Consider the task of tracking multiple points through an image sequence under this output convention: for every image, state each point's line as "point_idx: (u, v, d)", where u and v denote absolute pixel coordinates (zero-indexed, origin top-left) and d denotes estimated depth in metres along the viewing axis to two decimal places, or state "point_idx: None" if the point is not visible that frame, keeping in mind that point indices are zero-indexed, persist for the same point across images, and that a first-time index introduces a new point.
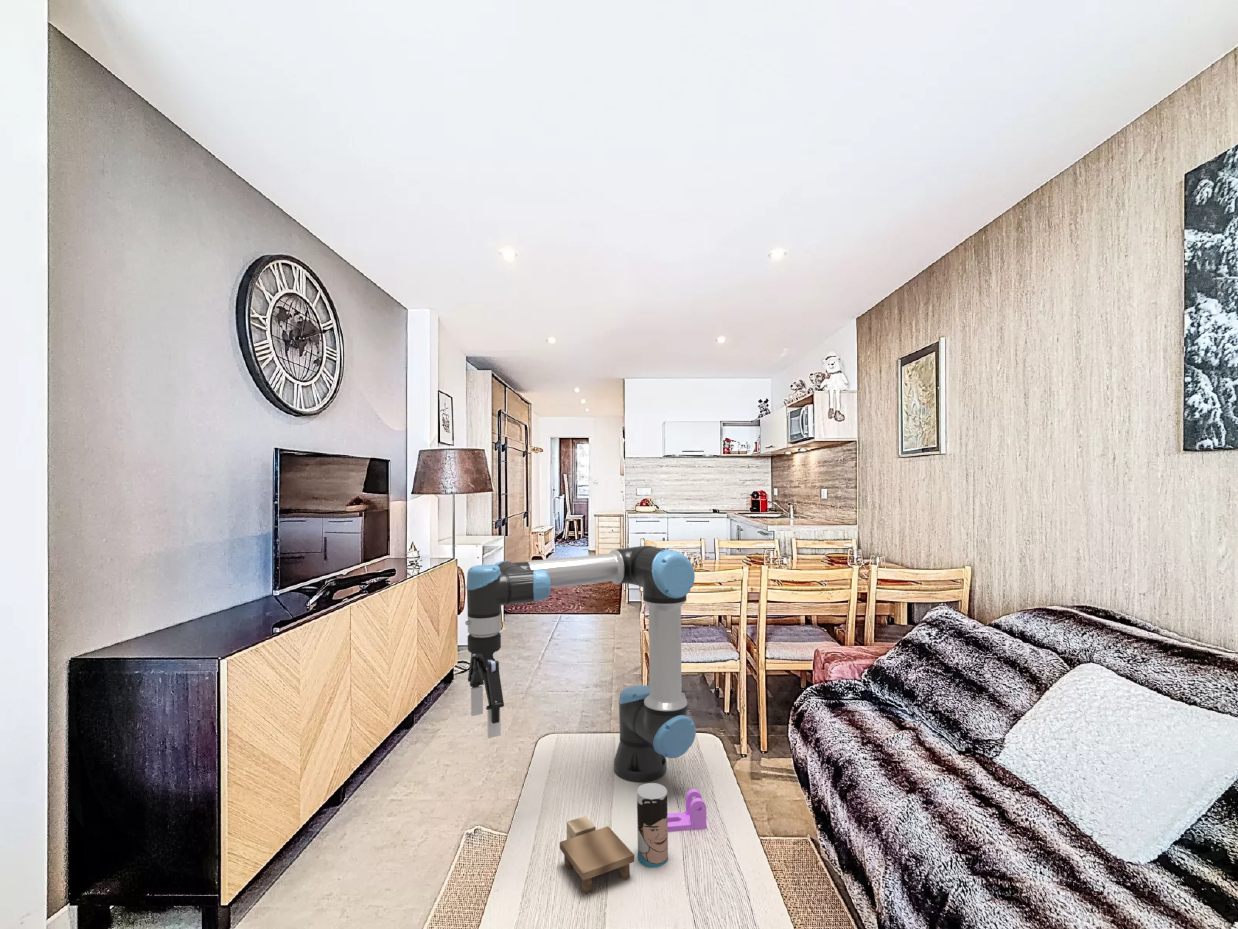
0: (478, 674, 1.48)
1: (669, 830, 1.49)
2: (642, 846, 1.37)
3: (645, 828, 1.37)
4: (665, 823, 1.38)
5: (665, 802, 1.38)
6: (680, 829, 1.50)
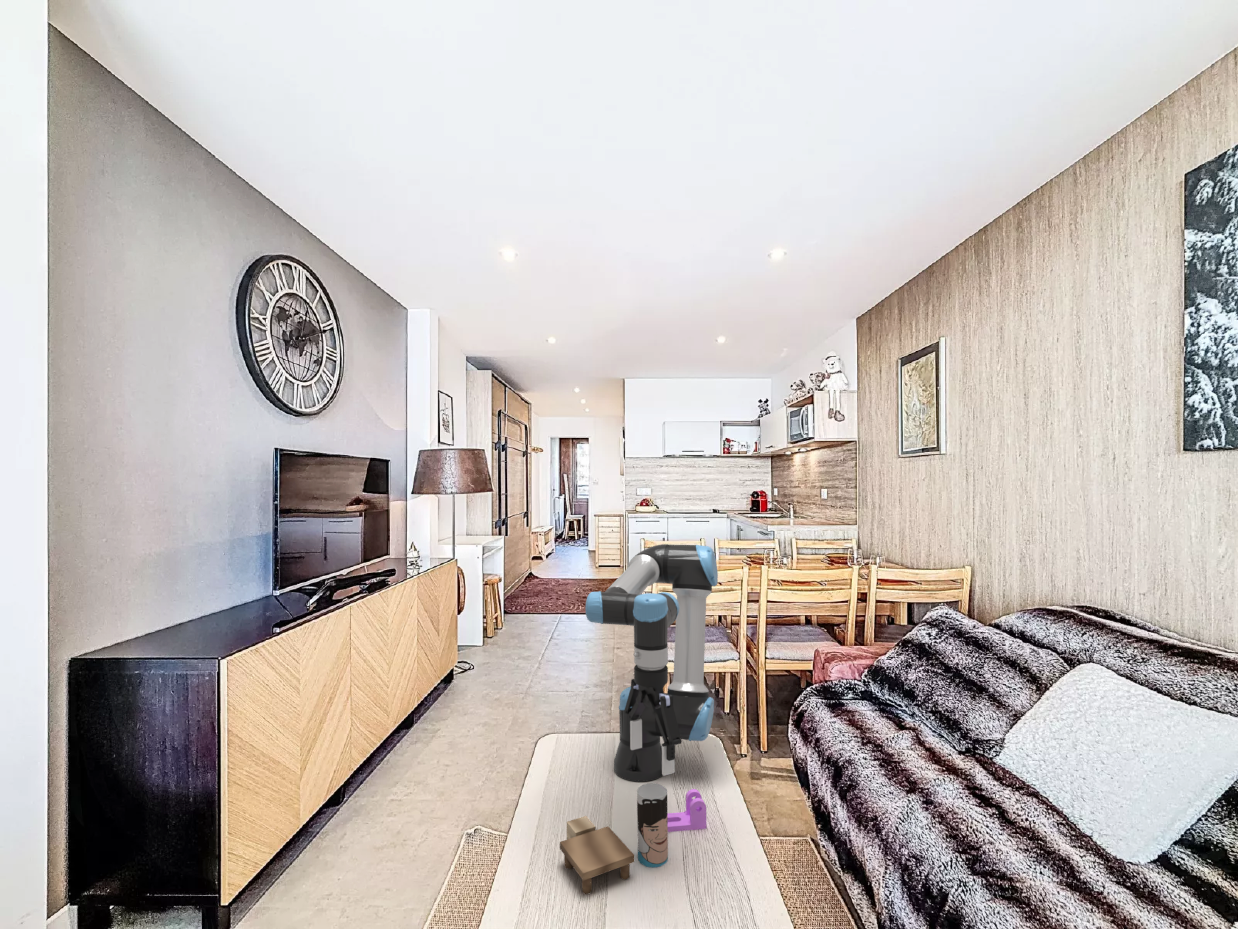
0: (640, 707, 1.43)
1: (669, 830, 1.49)
2: (642, 846, 1.37)
3: (645, 828, 1.37)
4: (665, 823, 1.38)
5: (665, 802, 1.38)
6: (680, 829, 1.50)
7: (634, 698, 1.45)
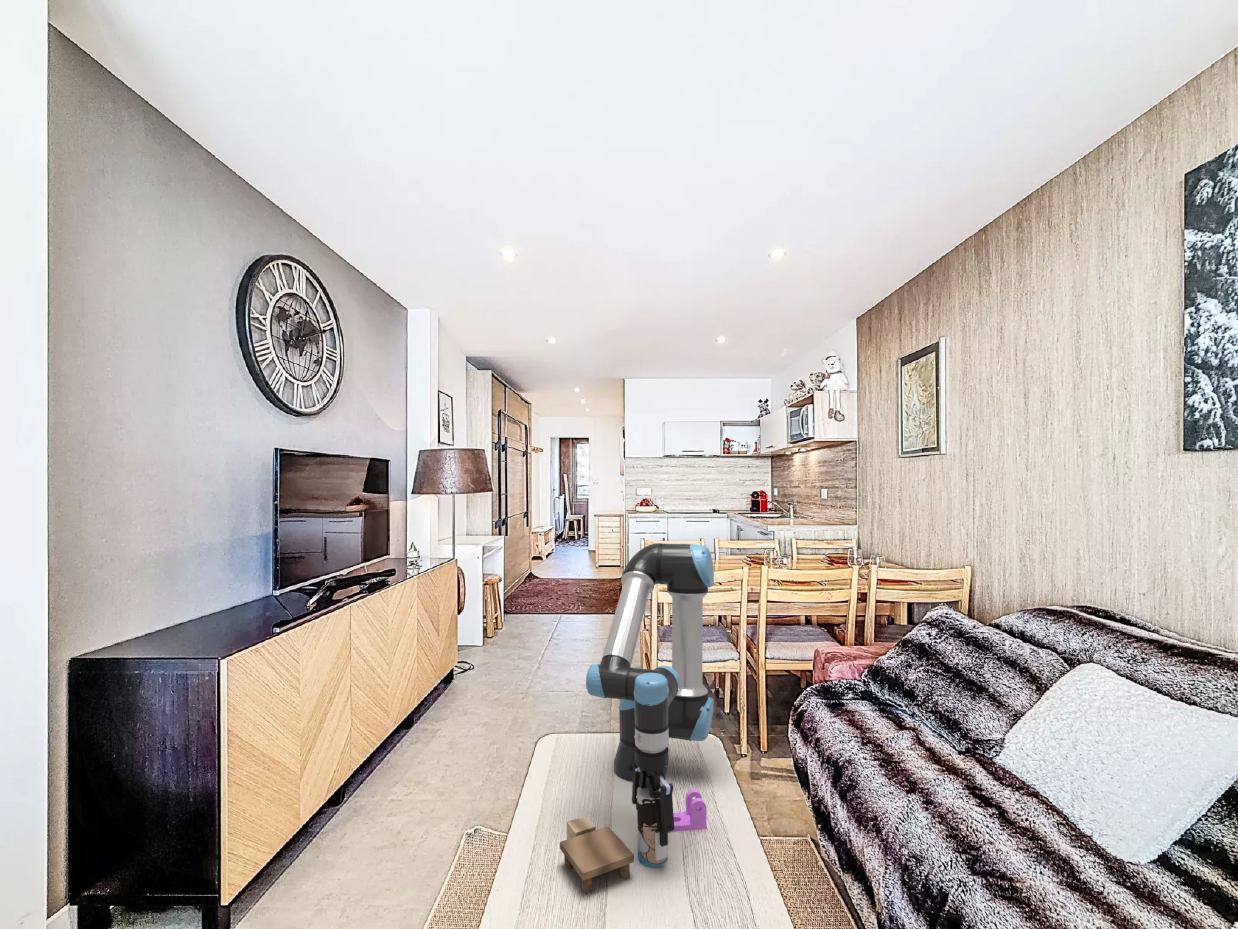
0: None
1: None
2: (642, 846, 1.37)
3: (645, 828, 1.37)
4: None
5: None
6: (680, 829, 1.50)
7: (638, 783, 1.44)
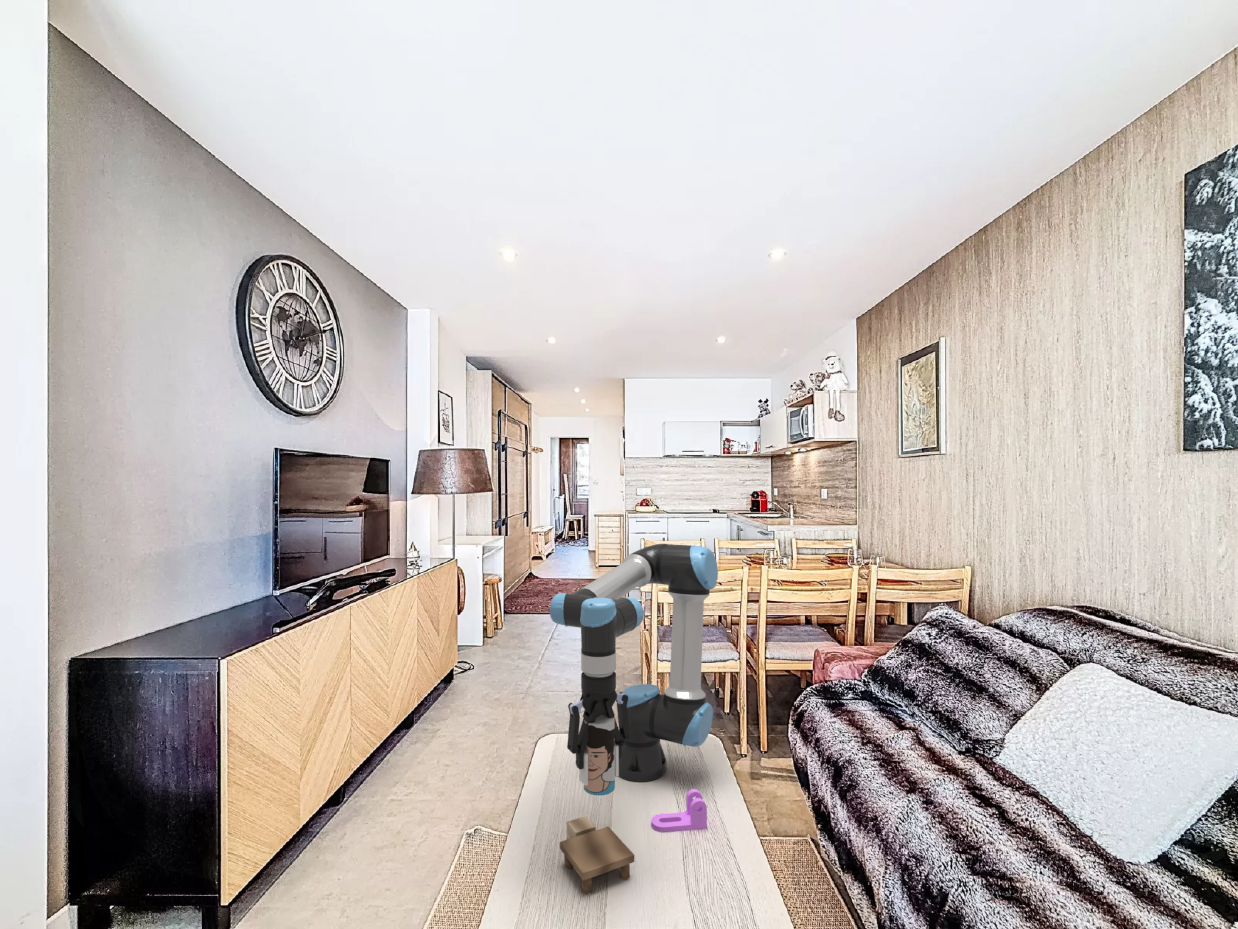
0: None
1: (669, 830, 1.49)
2: None
3: None
4: (590, 753, 1.32)
5: (590, 731, 1.32)
6: (680, 829, 1.50)
7: (619, 715, 1.38)
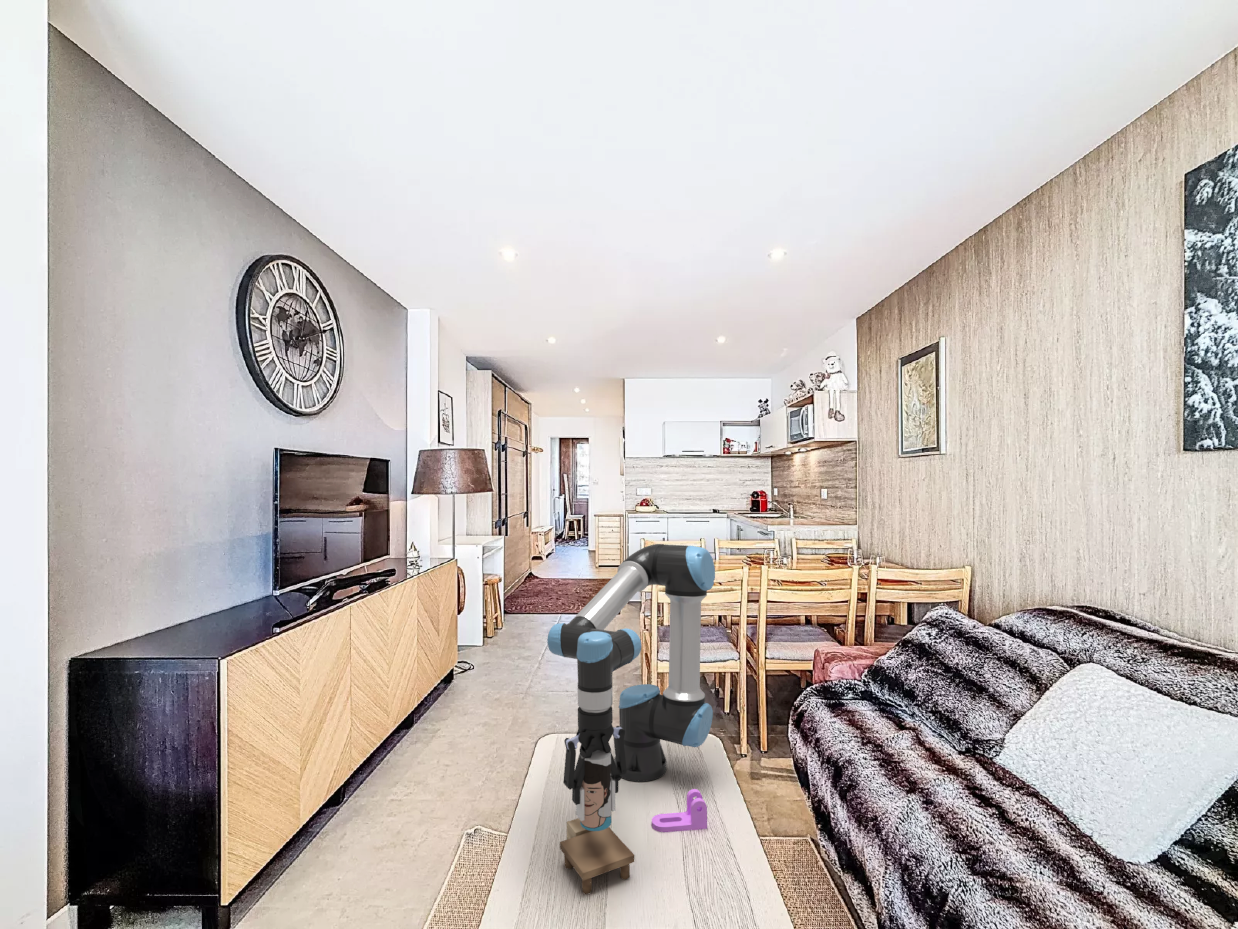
0: None
1: (670, 830, 1.49)
2: None
3: None
4: (586, 788, 1.32)
5: (586, 766, 1.32)
6: (681, 829, 1.50)
7: (616, 750, 1.38)
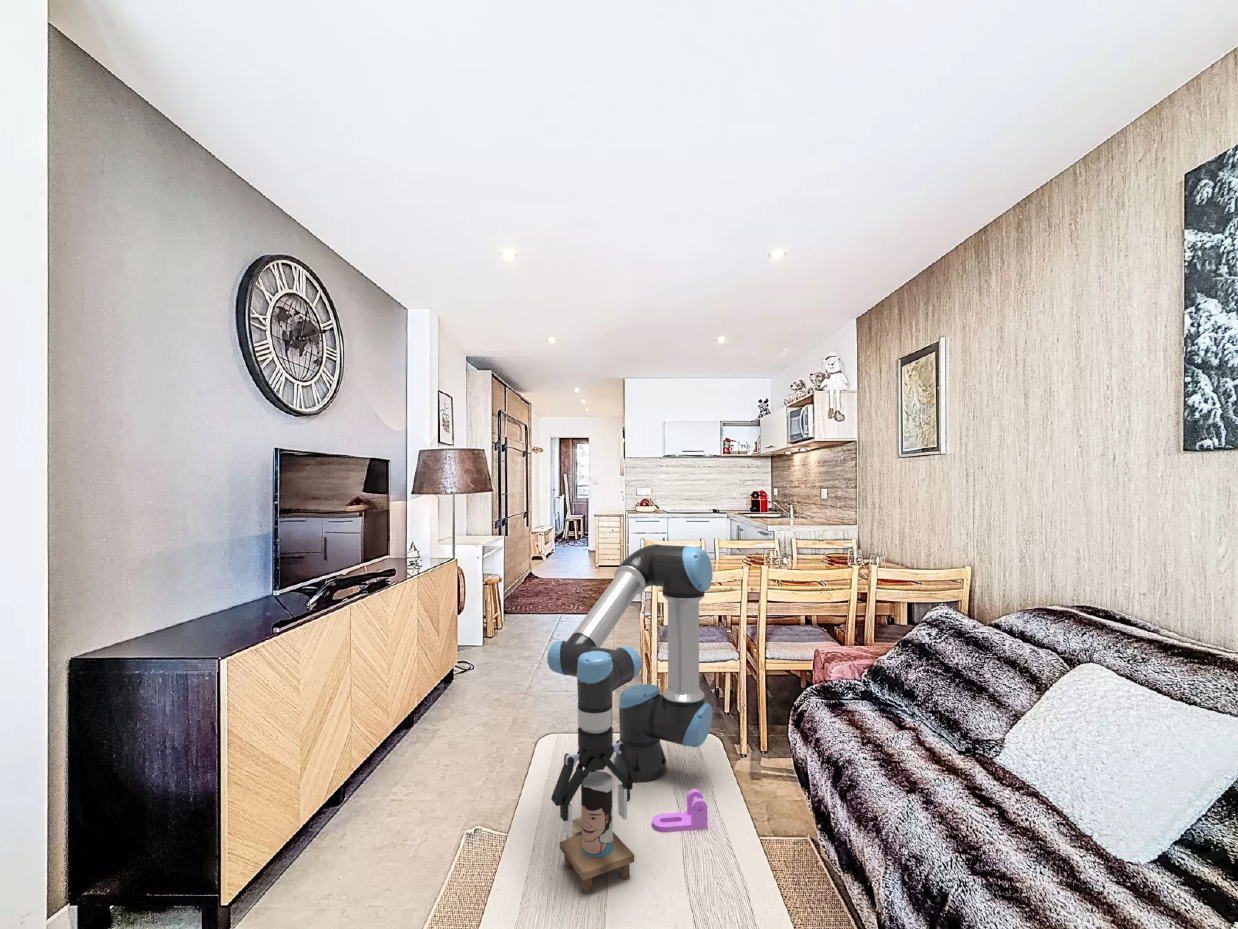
0: None
1: (670, 830, 1.49)
2: None
3: None
4: (587, 814, 1.33)
5: (587, 793, 1.32)
6: (681, 829, 1.50)
7: (622, 763, 1.39)
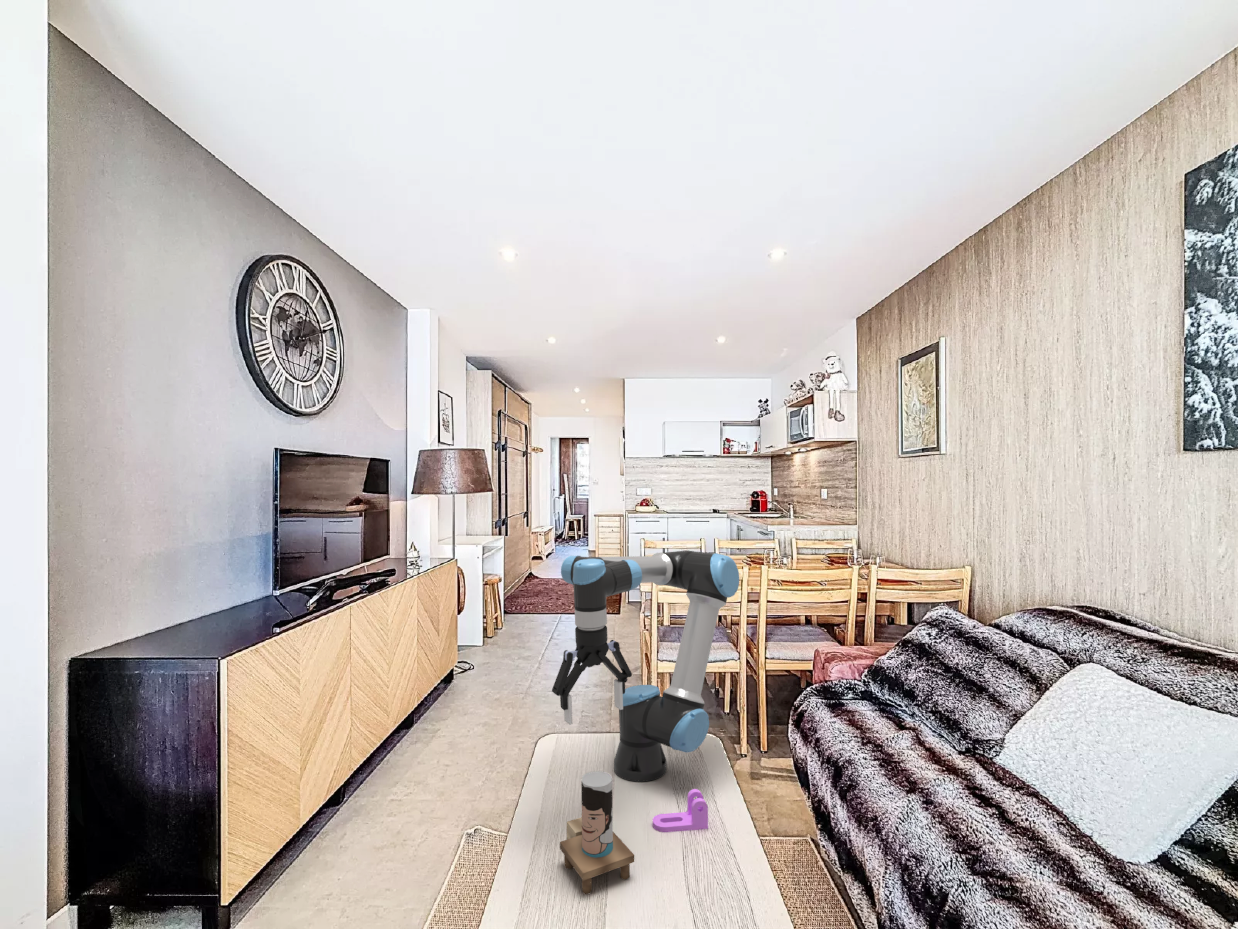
0: (607, 666, 1.50)
1: (671, 830, 1.49)
2: None
3: None
4: (587, 814, 1.33)
5: (587, 793, 1.32)
6: (682, 829, 1.50)
7: (617, 660, 1.51)
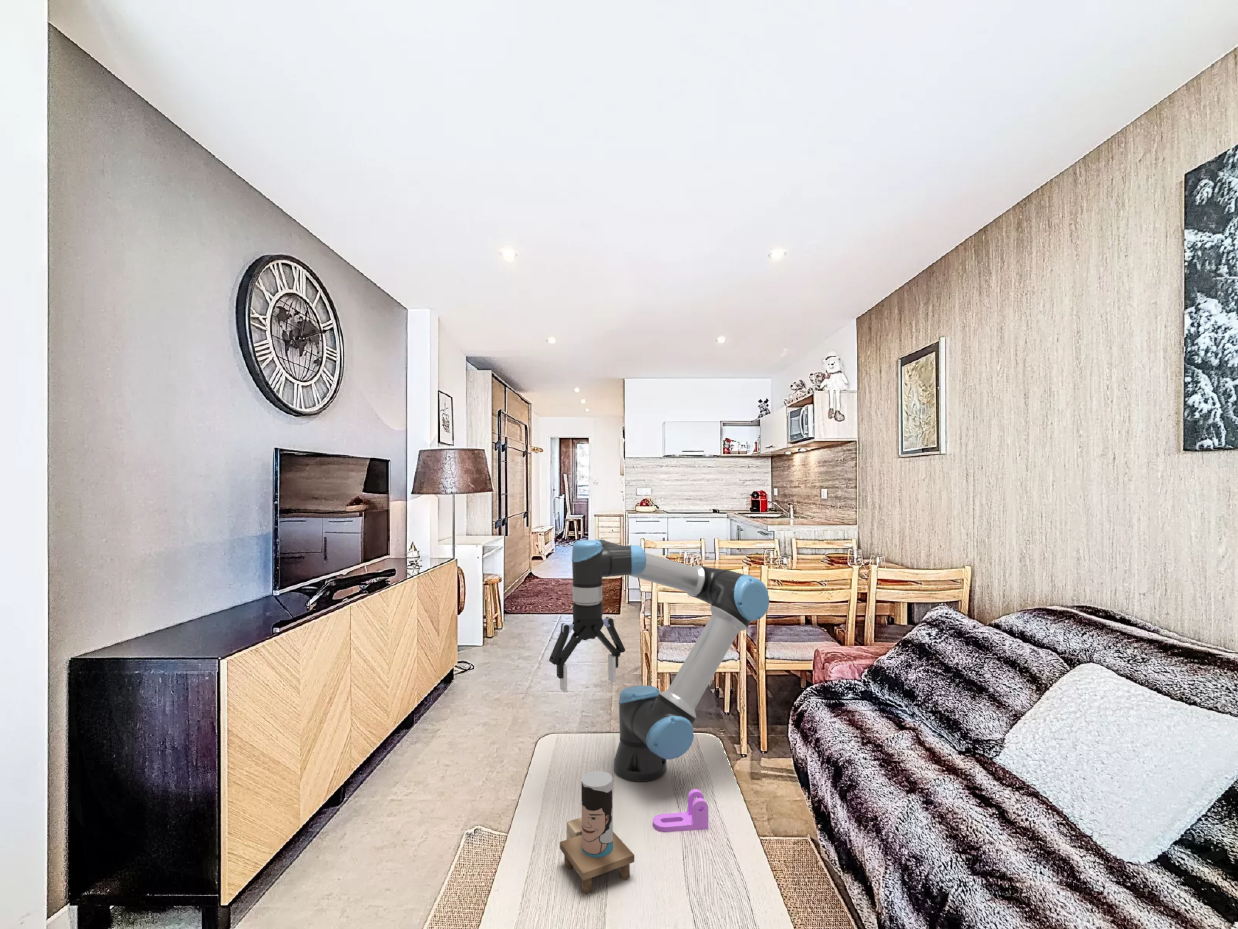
0: (602, 641, 1.61)
1: (671, 830, 1.49)
2: None
3: None
4: (587, 814, 1.33)
5: (587, 793, 1.32)
6: (682, 829, 1.50)
7: (611, 635, 1.62)
